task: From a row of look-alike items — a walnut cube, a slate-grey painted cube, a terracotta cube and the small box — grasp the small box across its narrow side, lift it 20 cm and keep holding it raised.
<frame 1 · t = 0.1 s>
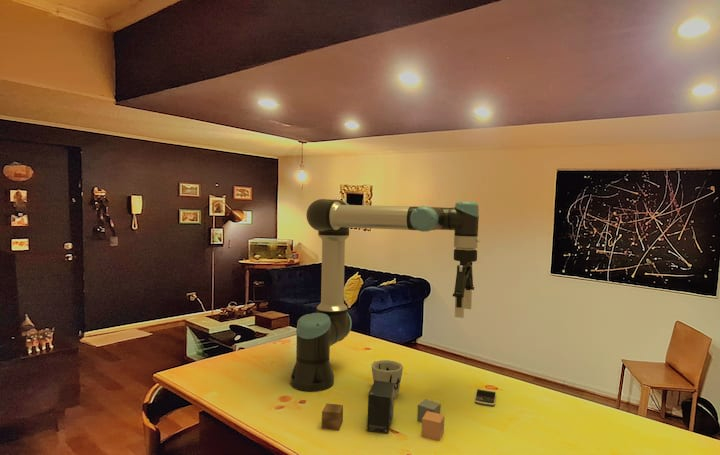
hand: (463, 312, 142), 28 cm above the table, fingers open, 13 cm apart
cell phone: (485, 400, 141), on the table
slate cube: (428, 420, 126), on the table
small box: (380, 424, 123), on the table
terracotta cube: (432, 434, 118), on the table
mug: (382, 392, 144), on the table
walnut cube: (332, 425, 122), on the table
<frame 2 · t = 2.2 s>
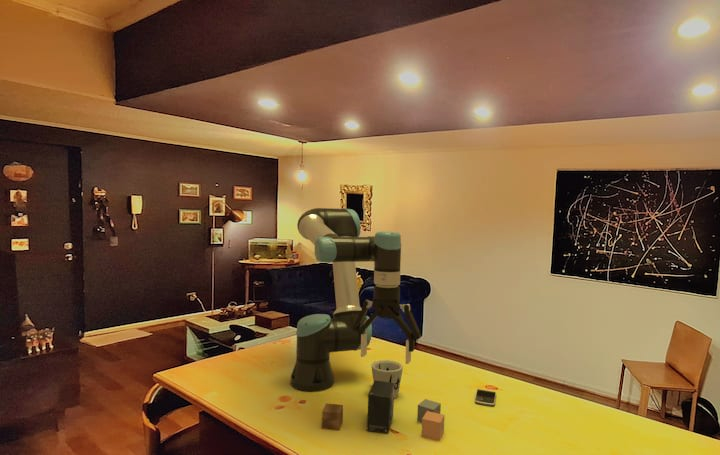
hand: (385, 359, 123), 18 cm above the table, fingers open, 13 cm apart
nothing on the table moved.
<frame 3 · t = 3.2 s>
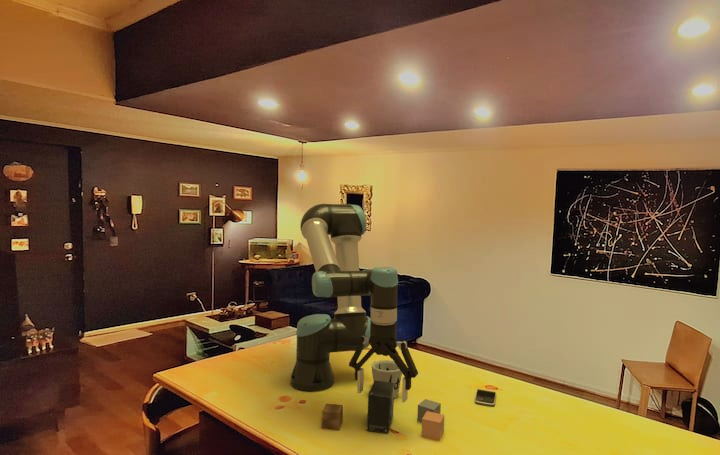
hand: (382, 396, 122), 8 cm above the table, fingers open, 13 cm apart
nothing on the table moved.
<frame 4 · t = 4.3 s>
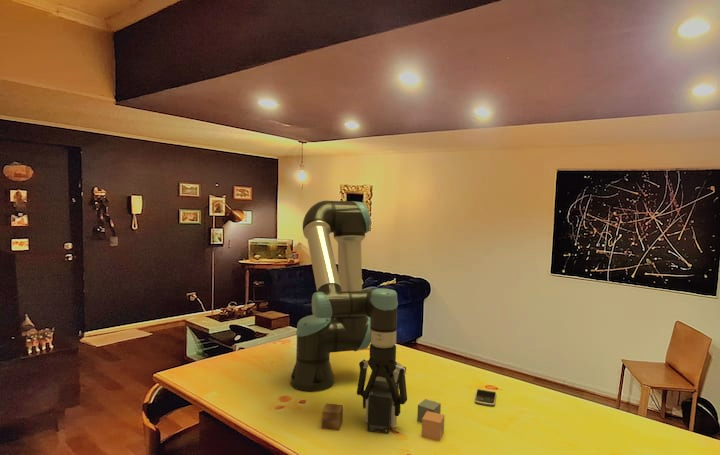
hand: (380, 422, 123), 0 cm above the table, fingers open, 7 cm apart
small box: (381, 424, 123), on the table, touching gripper
everything else where it was.
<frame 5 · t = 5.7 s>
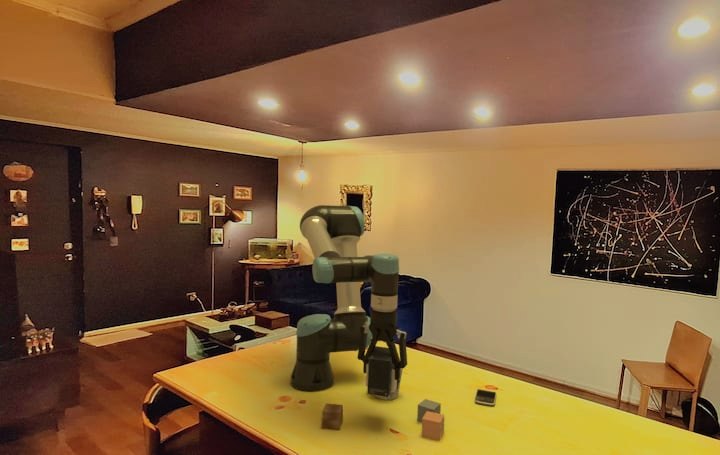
hand: (381, 387, 123), 10 cm above the table, fingers closed on small box, 7 cm apart
small box: (381, 388, 123), point 10 cm above the table, touching gripper
everything else where it was.
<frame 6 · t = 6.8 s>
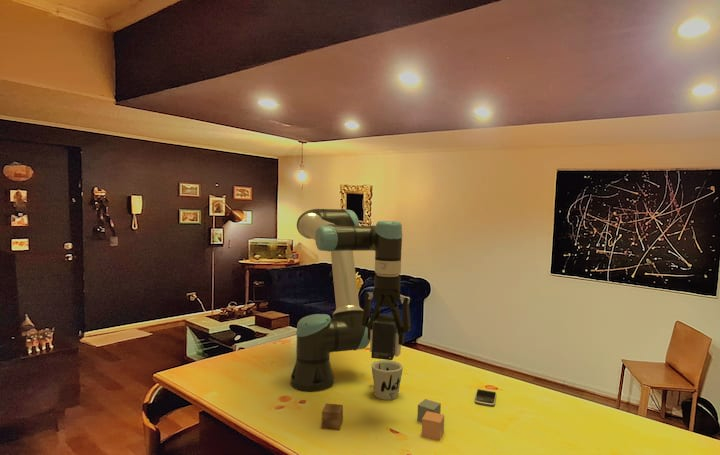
hand: (385, 352, 125), 20 cm above the table, fingers closed on small box, 7 cm apart
small box: (385, 354, 125), point 19 cm above the table, touching gripper
everything else where it was.
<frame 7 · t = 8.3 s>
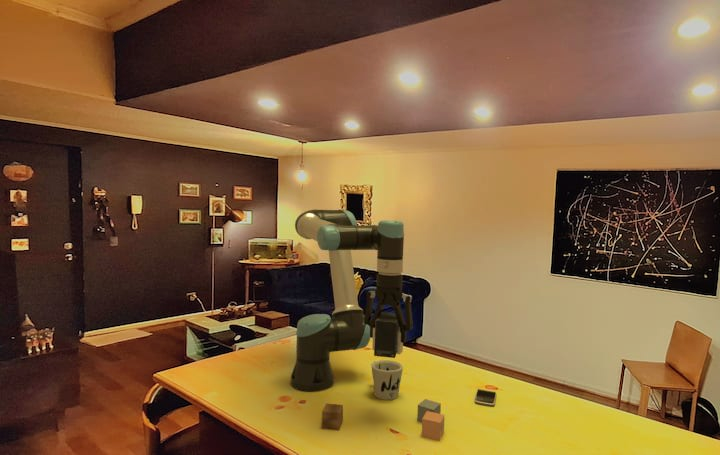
hand: (387, 350, 126), 20 cm above the table, fingers closed on small box, 7 cm apart
small box: (387, 352, 126), point 19 cm above the table, touching gripper
everything else where it was.
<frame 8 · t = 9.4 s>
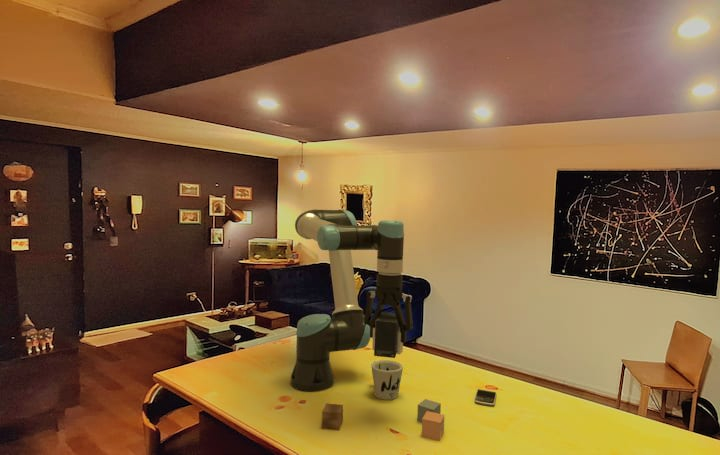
hand: (387, 350, 126), 20 cm above the table, fingers closed on small box, 7 cm apart
small box: (387, 352, 126), point 19 cm above the table, touching gripper
everything else where it was.
at the end: the gripper is holding small box; small box point 19.5 cm above the table; walnut cube moved 0.1 cm from its start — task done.
